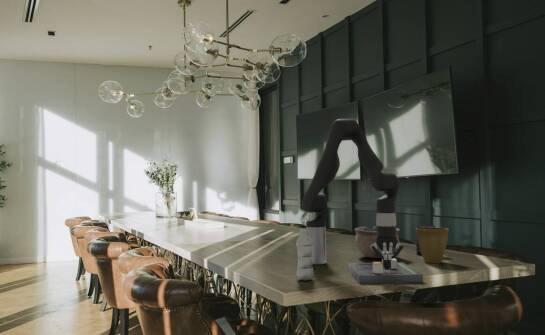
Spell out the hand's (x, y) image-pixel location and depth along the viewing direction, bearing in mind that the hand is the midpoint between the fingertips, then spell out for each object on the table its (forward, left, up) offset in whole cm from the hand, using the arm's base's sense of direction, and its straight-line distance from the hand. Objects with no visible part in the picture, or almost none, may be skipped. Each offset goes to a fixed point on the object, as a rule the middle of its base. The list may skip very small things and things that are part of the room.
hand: (387, 269), depth 185 cm
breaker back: (+4, +20, -1) cm, 20 cm away
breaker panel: (0, +10, -4) cm, 11 cm away
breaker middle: (+4, +10, -1) cm, 11 cm away
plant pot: (+31, +42, -5) cm, 52 cm away
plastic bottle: (-32, +3, -5) cm, 32 cm away
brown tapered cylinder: (+35, +65, -5) cm, 74 cm away
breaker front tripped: (-4, 0, -1) cm, 4 cm away
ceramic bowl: (+8, +57, -5) cm, 58 cm away
